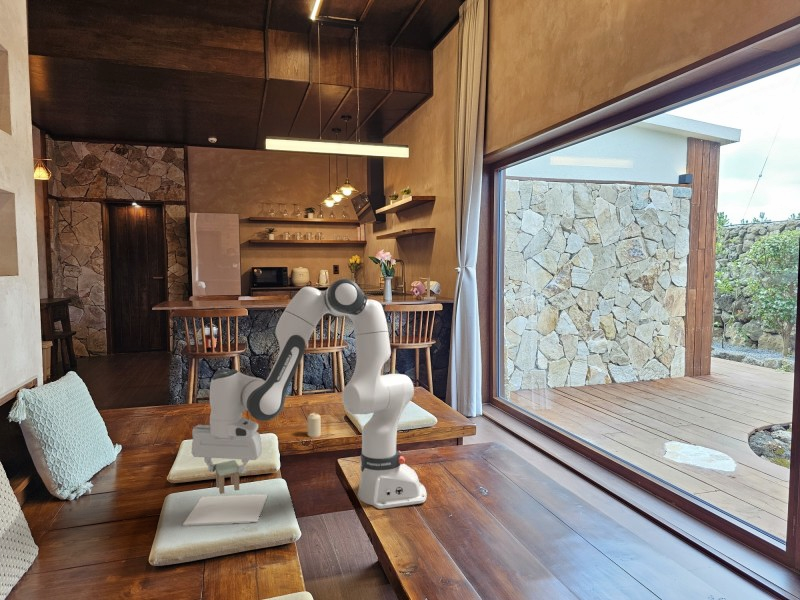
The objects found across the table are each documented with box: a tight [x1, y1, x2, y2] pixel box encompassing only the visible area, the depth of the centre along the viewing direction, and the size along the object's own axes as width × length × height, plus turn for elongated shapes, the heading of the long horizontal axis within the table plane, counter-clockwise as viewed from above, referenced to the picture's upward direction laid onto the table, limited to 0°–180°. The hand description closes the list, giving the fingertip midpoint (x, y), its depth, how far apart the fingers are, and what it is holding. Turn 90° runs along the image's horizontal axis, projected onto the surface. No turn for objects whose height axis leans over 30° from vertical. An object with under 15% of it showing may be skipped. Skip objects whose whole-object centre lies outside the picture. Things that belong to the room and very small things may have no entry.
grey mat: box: [182, 493, 269, 527], centre depth 143 cm, size 20×16×1 cm
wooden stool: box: [215, 459, 240, 495], centre depth 144 cm, size 6×6×7 cm
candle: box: [307, 412, 322, 438], centre depth 205 cm, size 6×6×10 cm
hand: (227, 471), depth 144 cm, fingers closed on wooden stool, 8 cm apart
